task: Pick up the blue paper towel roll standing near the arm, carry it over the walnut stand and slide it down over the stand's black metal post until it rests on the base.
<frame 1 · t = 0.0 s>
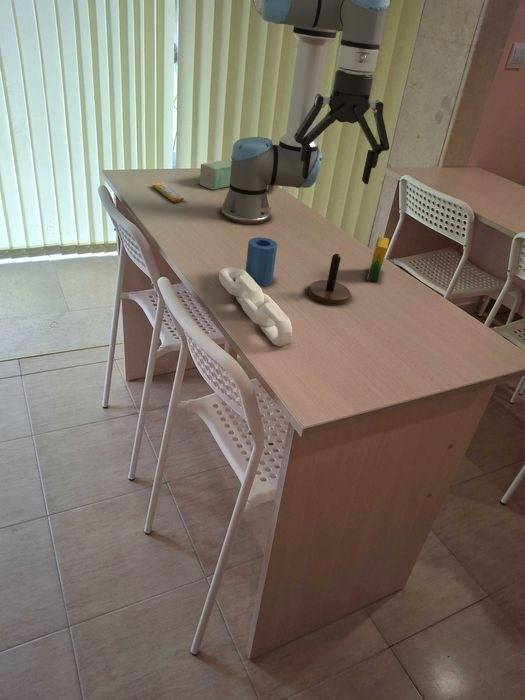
hand: (334, 179, 117), 28 cm above the table, tool pointing down, fingers open, 13 cm apart
box: (220, 185, 194), on the table
stand base: (328, 294, 133), on the table
chain: (253, 314, 122), on the table
candy bar: (167, 195, 179), on the table
stand post: (333, 272, 129), on the stand base, point 6 cm above the table
crayon box: (373, 276, 145), on the table
towel roll: (258, 280, 135), on the table
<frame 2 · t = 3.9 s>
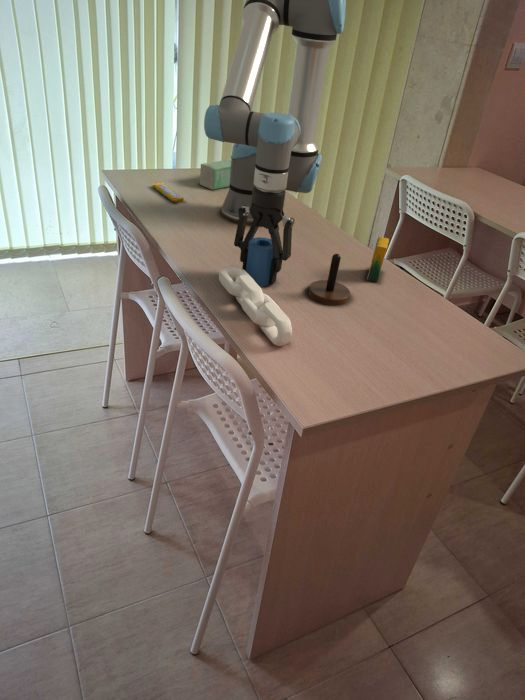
hand: (258, 278, 135), 1 cm above the table, tool pointing down, fingers closed on towel roll, 7 cm apart
towel roll: (258, 279, 135), on the table, touching gripper
everything else where it was.
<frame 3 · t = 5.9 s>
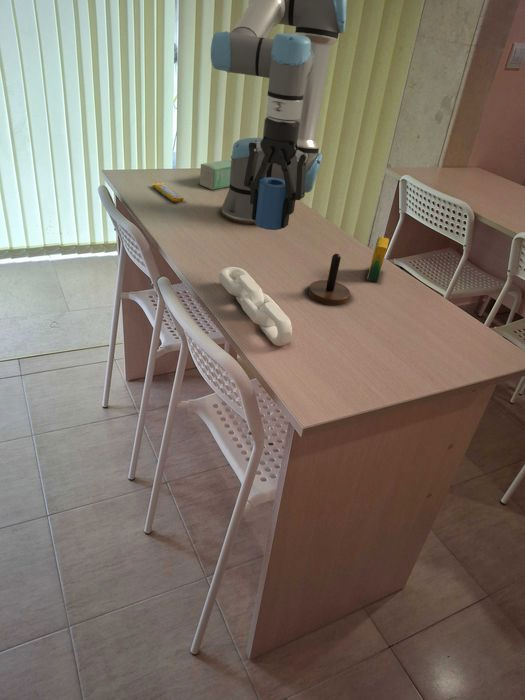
hand: (269, 222, 127), 15 cm above the table, tool pointing down, fingers closed on towel roll, 7 cm apart
towel roll: (269, 224, 127), point 15 cm above the table, touching gripper
everything else where it was.
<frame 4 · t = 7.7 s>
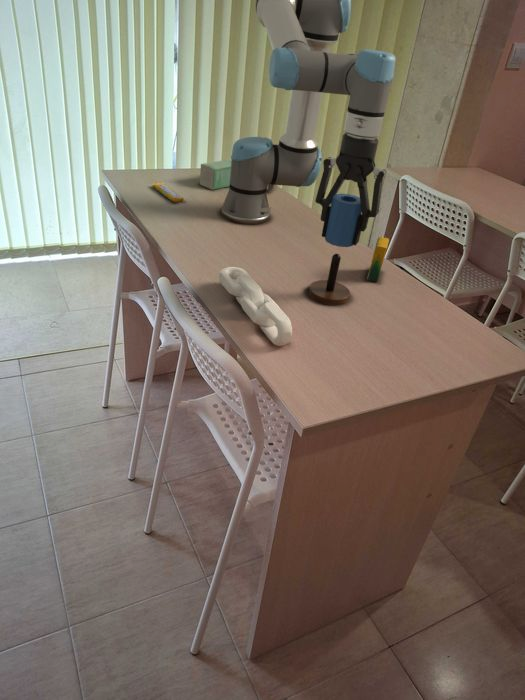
hand: (340, 238, 124), 15 cm above the table, tool pointing down, fingers closed on towel roll, 7 cm apart
towel roll: (339, 241, 125), point 14 cm above the table, touching gripper
everything else where it was.
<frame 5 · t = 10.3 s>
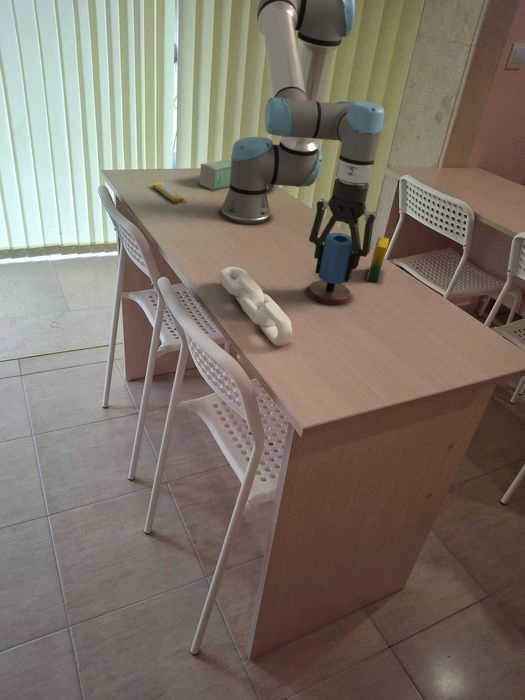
hand: (332, 275, 130), 5 cm above the table, tool pointing down, fingers closed on towel roll, 7 cm apart
towel roll: (332, 277, 130), point 5 cm above the table, touching gripper
everything else where it was.
when the fingers open (2 cm above the table, at t = 11.7 s): towel roll stays where it is, resting on stand base.
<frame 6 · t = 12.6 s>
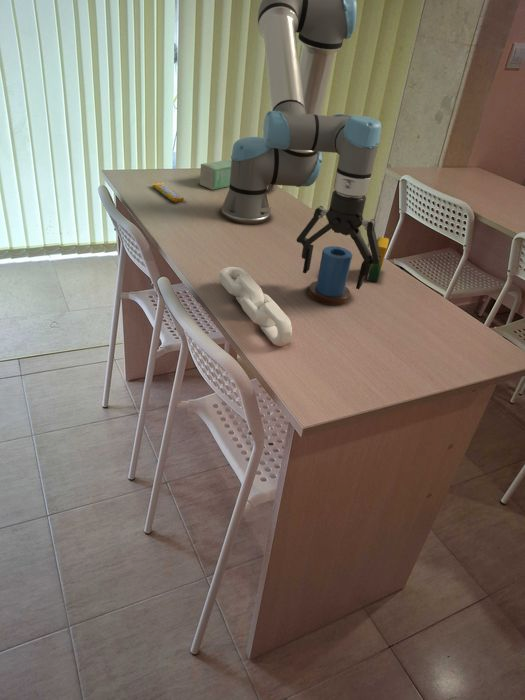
hand: (332, 279, 131), 4 cm above the table, tool pointing down, fingers open, 13 cm apart
towel roll: (329, 289, 132), point 1 cm above the table, touching stand base
everything else where it was.
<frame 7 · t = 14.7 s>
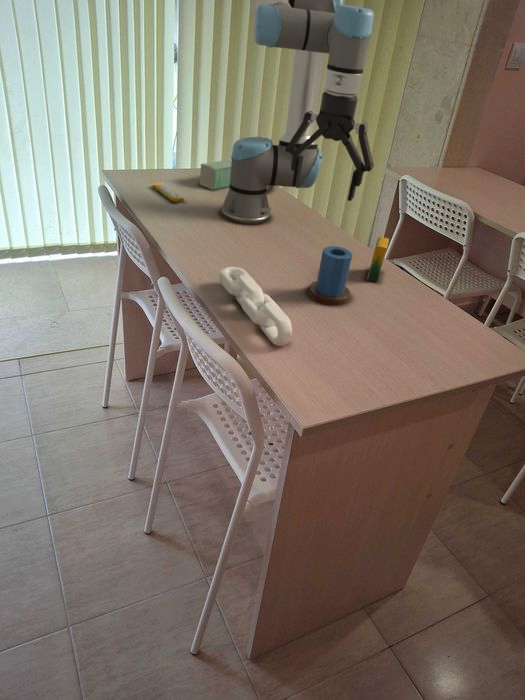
hand: (322, 192, 125), 23 cm above the table, tool pointing down, fingers open, 13 cm apart
nothing on the table moved.
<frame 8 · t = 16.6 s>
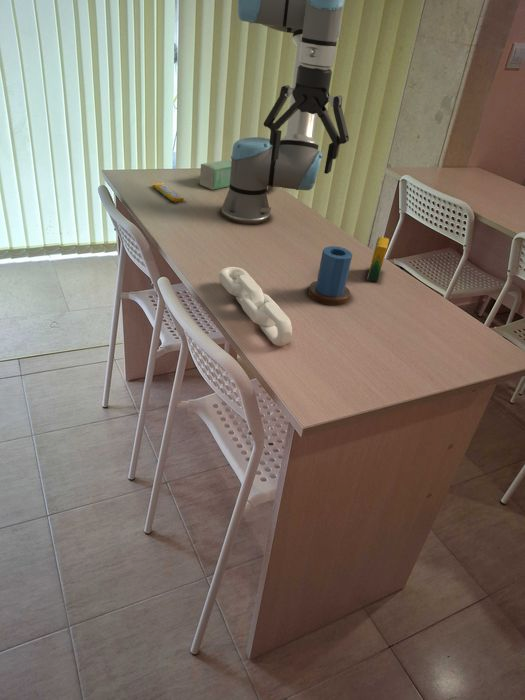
hand: (300, 166, 128), 27 cm above the table, tool pointing down, fingers open, 13 cm apart
nothing on the table moved.
at the end: towel roll 0.1 cm off-centre on the stand post, point 1.5 cm above the stand post's base; towel roll tilted 0°; the gripper is holding nothing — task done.
